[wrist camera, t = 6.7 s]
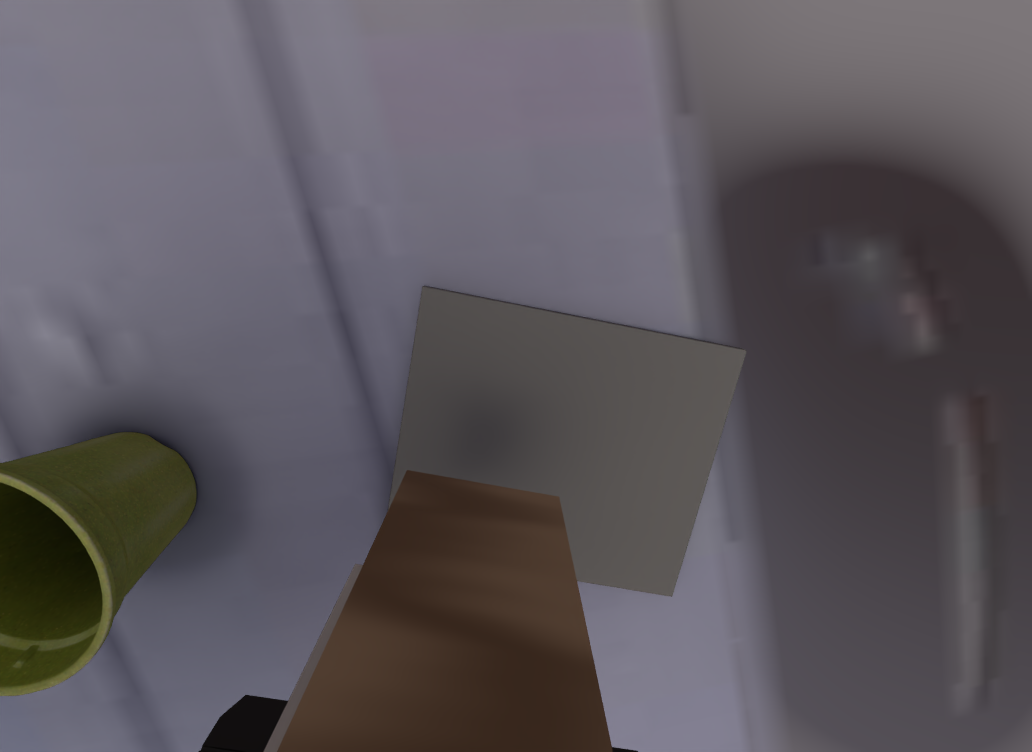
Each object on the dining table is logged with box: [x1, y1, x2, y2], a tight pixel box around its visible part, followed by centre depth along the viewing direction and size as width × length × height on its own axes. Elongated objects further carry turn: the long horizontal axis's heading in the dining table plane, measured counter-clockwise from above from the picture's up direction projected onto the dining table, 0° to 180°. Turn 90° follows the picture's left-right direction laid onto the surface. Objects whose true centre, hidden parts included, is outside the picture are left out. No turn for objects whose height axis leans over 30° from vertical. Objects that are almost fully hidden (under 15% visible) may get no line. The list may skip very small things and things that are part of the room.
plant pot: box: [0, 432, 197, 696], centre depth 23 cm, size 9×9×9 cm
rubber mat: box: [388, 286, 746, 597], centre depth 27 cm, size 16×14×1 cm
